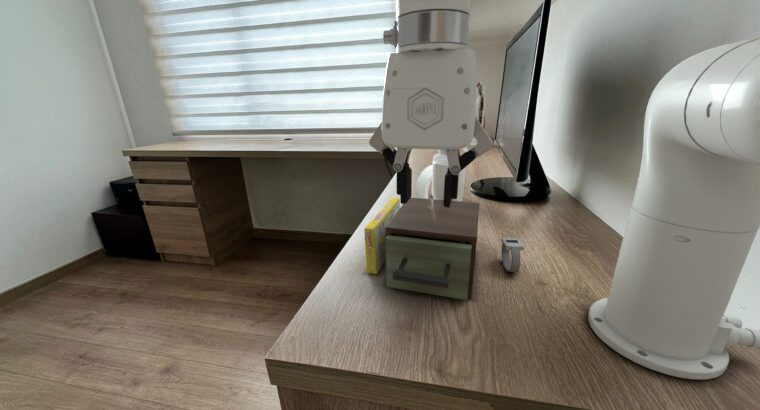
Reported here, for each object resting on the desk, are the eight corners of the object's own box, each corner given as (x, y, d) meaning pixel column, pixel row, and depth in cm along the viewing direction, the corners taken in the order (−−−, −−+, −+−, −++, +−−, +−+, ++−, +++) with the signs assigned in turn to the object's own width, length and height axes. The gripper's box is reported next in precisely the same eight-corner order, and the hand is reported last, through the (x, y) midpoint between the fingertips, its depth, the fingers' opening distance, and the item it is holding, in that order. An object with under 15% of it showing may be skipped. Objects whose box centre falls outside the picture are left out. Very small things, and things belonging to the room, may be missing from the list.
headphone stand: (445, 214, 78) (448, 166, 74) (423, 218, 75) (425, 169, 72) (435, 208, 82) (437, 162, 78) (414, 212, 80) (415, 165, 76)
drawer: (464, 323, 39) (469, 267, 37) (376, 306, 43) (374, 254, 40) (471, 255, 56) (474, 213, 53) (407, 247, 59) (407, 207, 57)
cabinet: (471, 299, 45) (477, 237, 42) (385, 285, 49) (385, 227, 46) (475, 252, 58) (479, 202, 55) (407, 244, 62) (408, 197, 59)
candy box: (391, 234, 67) (391, 197, 64) (401, 235, 66) (401, 197, 64) (365, 273, 53) (363, 227, 50) (377, 274, 52) (376, 228, 49)
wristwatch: (523, 279, 50) (527, 251, 48) (505, 278, 50) (509, 250, 48) (512, 260, 56) (515, 234, 54) (495, 259, 56) (498, 233, 54)
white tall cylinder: (462, 236, 65) (468, 165, 60) (429, 234, 67) (432, 164, 62) (461, 224, 71) (466, 158, 67) (431, 222, 73) (433, 158, 68)
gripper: (343, 39, 33) (352, 206, 38) (521, 25, 28) (499, 219, 33) (368, 48, 39) (372, 189, 45) (514, 39, 34) (497, 198, 40)
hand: (426, 200), depth 39 cm, fingers open, 4 cm apart
